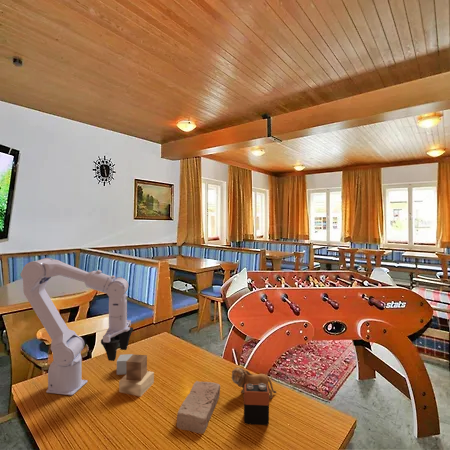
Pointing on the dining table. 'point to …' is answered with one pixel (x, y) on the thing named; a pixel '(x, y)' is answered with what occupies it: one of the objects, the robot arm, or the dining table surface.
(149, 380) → the base block
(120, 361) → the slate block
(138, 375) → the walnut block
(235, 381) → the lion figurine
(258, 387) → the battery
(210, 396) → the brick
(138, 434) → the dining table surface
